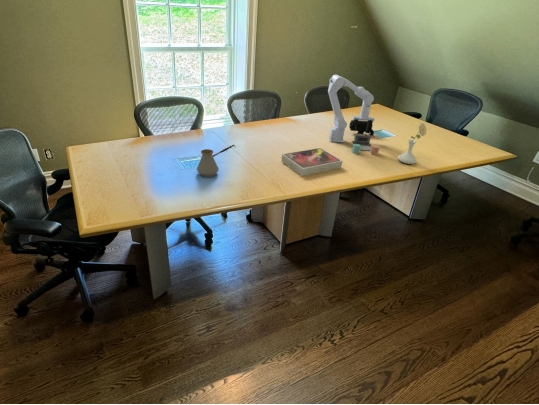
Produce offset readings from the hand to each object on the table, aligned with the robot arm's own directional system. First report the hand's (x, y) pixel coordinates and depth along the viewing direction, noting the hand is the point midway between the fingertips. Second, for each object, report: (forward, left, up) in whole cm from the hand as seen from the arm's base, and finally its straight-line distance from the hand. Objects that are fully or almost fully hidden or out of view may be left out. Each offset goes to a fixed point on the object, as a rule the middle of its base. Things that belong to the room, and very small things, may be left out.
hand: (361, 130), depth 238 cm
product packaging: (-38, -47, -8) cm, 61 cm away
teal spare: (-7, -23, -8) cm, 25 cm away
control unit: (0, -6, -7) cm, 10 cm away
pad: (0, -15, -7) cm, 17 cm away
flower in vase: (+24, -33, -8) cm, 42 cm away
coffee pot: (-91, -66, -8) cm, 113 cm away
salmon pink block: (+5, -23, -8) cm, 25 cm away
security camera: (+4, +13, -8) cm, 16 cm away
